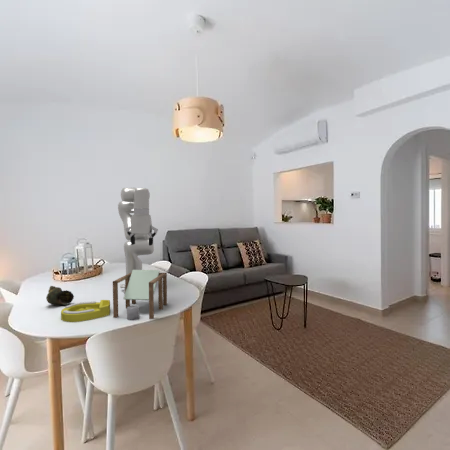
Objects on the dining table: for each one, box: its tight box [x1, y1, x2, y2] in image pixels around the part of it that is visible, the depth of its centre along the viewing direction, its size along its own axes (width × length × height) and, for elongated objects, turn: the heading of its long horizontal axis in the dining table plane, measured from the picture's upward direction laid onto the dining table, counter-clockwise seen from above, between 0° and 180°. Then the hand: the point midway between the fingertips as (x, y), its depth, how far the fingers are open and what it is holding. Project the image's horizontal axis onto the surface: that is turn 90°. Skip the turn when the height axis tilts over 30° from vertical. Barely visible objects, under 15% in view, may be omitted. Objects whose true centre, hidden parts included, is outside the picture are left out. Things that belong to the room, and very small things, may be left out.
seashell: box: [46, 285, 75, 306], centre depth 147 cm, size 11×11×10 cm
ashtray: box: [60, 299, 111, 323], centre depth 134 cm, size 16×21×5 cm
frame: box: [112, 272, 168, 320], centre depth 140 cm, size 19×21×17 cm
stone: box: [126, 304, 140, 321], centre depth 130 cm, size 5×5×5 cm
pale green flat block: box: [123, 269, 161, 301], centre depth 142 cm, size 15×16×5 cm
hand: (141, 244), depth 148 cm, fingers open, 9 cm apart
